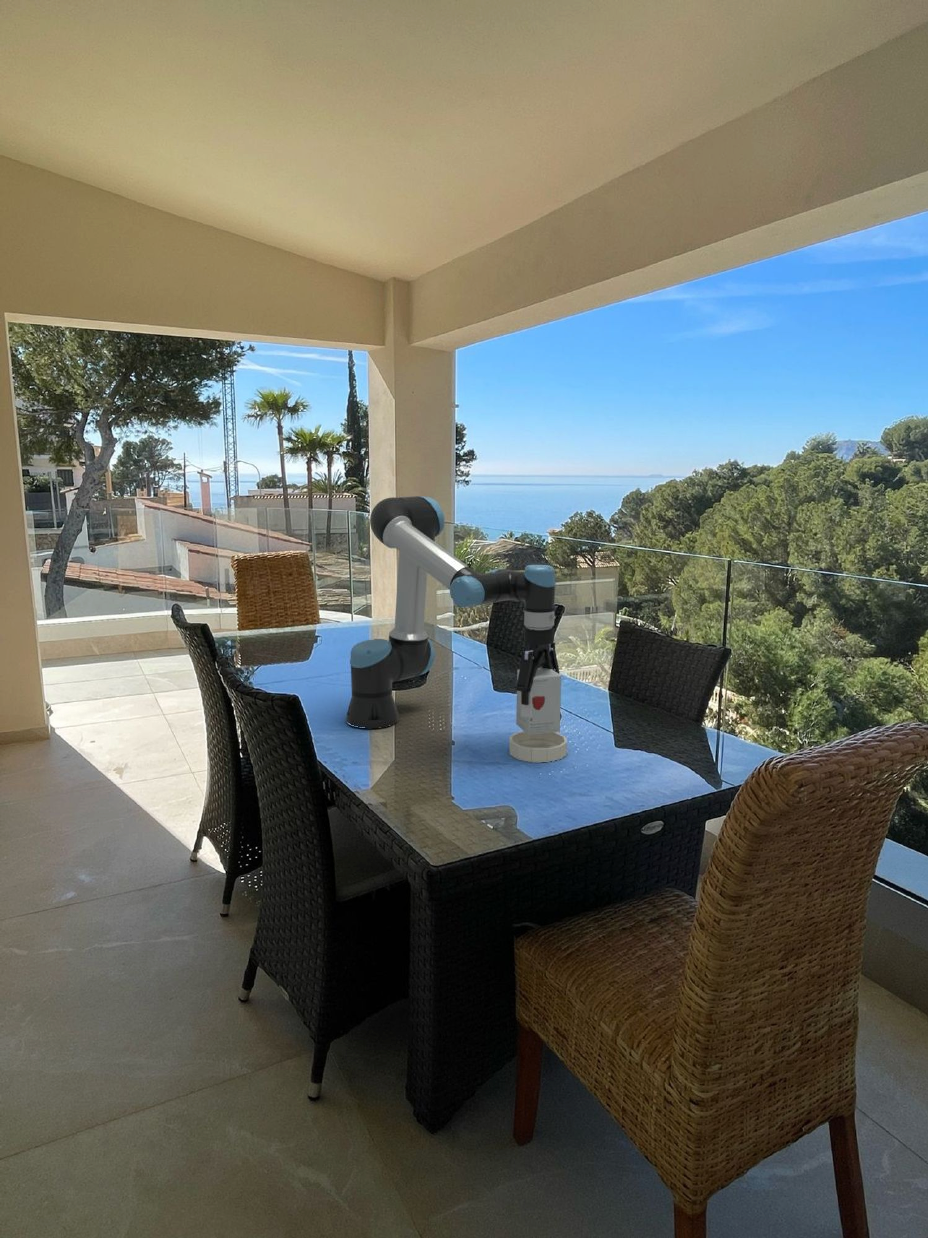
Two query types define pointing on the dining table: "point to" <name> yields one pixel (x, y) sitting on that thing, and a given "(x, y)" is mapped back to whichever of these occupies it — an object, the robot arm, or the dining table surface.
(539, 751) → the bowl
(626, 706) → the dining table surface
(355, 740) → the dining table surface
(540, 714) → the supplement box
